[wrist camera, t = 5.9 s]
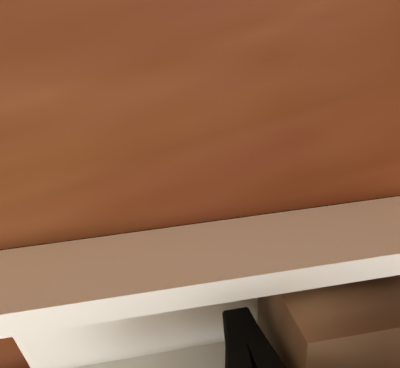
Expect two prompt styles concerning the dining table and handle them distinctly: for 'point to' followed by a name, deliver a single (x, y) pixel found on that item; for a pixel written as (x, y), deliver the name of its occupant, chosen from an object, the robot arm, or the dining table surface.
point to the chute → (182, 283)
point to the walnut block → (335, 325)
